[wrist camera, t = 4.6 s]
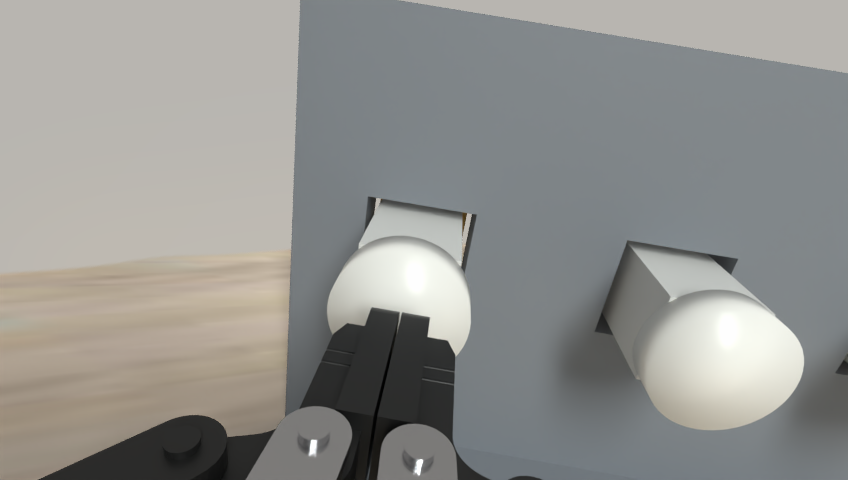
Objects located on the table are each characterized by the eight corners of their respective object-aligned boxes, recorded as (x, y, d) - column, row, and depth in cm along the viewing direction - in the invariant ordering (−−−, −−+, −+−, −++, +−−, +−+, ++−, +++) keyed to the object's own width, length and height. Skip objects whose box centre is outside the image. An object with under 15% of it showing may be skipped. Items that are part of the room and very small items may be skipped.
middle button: (627, 417, 13) (677, 300, 12) (562, 267, 22) (586, 189, 21) (763, 440, 13) (833, 326, 12) (644, 281, 22) (675, 204, 21)
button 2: (322, 364, 14) (331, 241, 12) (378, 236, 22) (388, 156, 21) (456, 387, 14) (484, 267, 12) (459, 250, 22) (475, 170, 21)
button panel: (246, 521, 17) (239, -37, 10) (322, 353, 26) (348, 1, 19) (980, 654, 17) (1538, 174, 9) (797, 436, 26) (1008, 108, 19)
